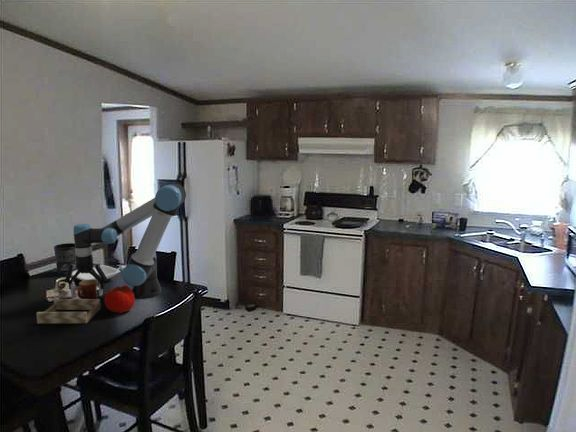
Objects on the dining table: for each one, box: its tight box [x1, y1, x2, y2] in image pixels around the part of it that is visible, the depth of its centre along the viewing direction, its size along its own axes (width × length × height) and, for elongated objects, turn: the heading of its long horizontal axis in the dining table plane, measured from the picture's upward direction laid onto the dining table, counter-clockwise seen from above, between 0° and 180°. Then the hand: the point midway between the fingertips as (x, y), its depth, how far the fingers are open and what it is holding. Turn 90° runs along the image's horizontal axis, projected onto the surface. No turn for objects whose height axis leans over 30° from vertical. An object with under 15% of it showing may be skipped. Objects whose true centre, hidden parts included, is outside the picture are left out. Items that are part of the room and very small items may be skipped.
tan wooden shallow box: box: [35, 298, 102, 324], centre depth 189 cm, size 21×16×5 cm
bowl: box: [71, 264, 121, 281], centre depth 237 cm, size 22×23×6 cm
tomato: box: [103, 285, 136, 314], centre depth 196 cm, size 13×14×12 cm
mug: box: [77, 279, 99, 299], centre depth 205 cm, size 12×9×10 cm
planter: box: [53, 242, 77, 277], centre depth 248 cm, size 13×13×18 cm
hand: (87, 295), depth 205 cm, fingers open, 13 cm apart
